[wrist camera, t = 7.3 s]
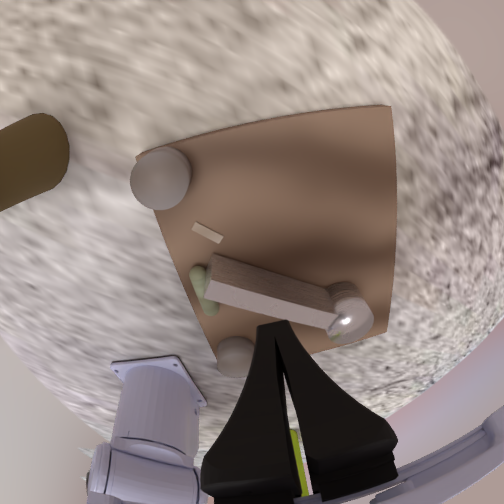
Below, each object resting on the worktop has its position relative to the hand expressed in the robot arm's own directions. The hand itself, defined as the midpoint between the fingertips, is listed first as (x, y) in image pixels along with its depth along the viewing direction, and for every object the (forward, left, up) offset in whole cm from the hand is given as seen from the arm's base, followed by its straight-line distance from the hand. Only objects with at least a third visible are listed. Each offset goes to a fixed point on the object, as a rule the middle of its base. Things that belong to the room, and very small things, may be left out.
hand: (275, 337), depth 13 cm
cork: (+11, +14, -10) cm, 20 cm away
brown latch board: (-2, -2, -9) cm, 10 cm away
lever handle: (-3, -2, -8) cm, 9 cm away
